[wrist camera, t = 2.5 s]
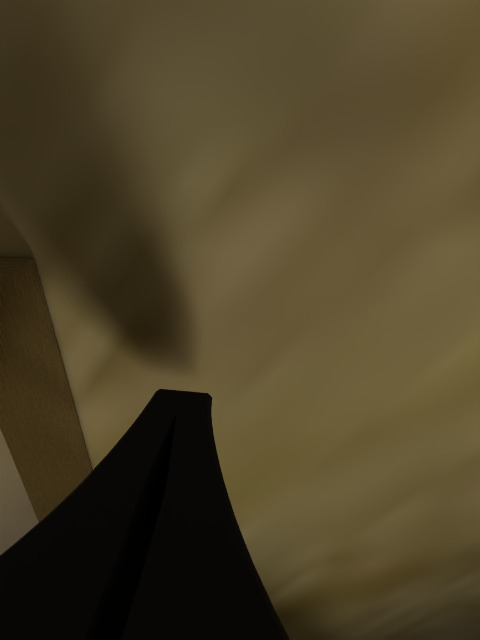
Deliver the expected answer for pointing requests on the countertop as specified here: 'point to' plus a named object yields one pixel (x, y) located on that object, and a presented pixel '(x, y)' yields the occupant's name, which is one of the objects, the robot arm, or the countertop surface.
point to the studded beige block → (33, 408)
